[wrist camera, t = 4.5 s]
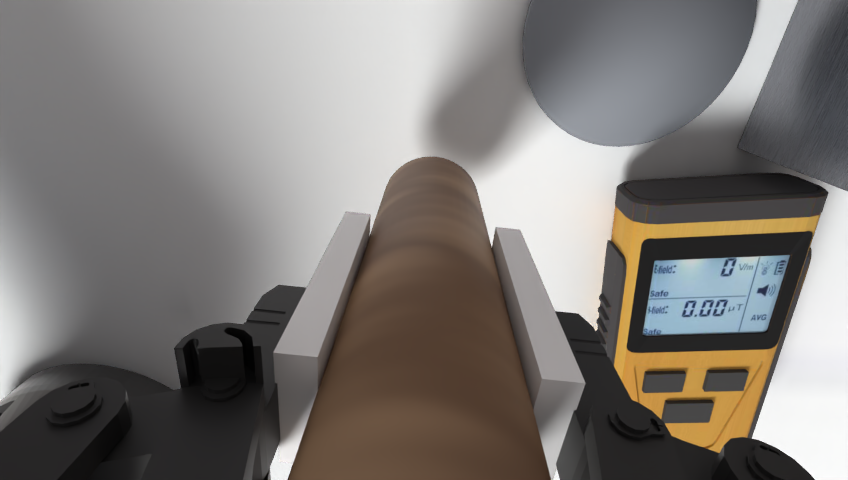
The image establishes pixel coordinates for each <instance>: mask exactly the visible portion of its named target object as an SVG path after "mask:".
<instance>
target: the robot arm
mask: <svg viewBox="0 0 848 480" xmlns="http://www.w3.org/2000/svg"><path fill="white" fill-rule="evenodd" d="M369 233H370V214H364V213H354V212H345V214H344V216H343V218H342V220H341V222H340V224H339V226H338V228H337V230H336V232H335V234H334V236H333V238H332V239H331V241H330V243H329V245H328V247H327V249H326V251H325V253H324V255H323V257H322V259H321V261H320V263H319V265H318V267H317V269H316V271H315V272H314V274H313V276H312V278H311V280H310V282H309V284H308V286H307V288H304V287H294V286H284V285H278V286H276V287H275V288H273V289H272V290H270V291H269V292H267V293H266V294H264V295H263V296H262V297H261V299H260V300H259V302H258V303H257V305H256V306H255V308H254V311H252V312H251V314H250V315H249V317H248V318H247V321H246V322H245V323H244V324H235V323H222V324H214V325H210V326H207V327H204V328H201V329H198V330H195V331H194V332H192V333H191V334H189V335H187V336H186V337H184V338H183V339H182V340H181V341H180V342H179V343H178V345H177V346H176V347H175V348H174V350H175V355H176V361H177V367H178V372H179V378H180V383H181V388H180V389H177V390H172V389H170V388H168V387H167V386H165V385H163V384H161V383H159V382H157V381H155V380H152V379H150V378H148V377H145V376H143V375H140V374H137V373H134V372H131V371H128V370H124V369H120V368H116V367H110V366H105V365H97V364H68V365H61V366H55V367H52V368H48V369H45V370H42V371H40V372H38V373H36V374H34V375H32V376H31V377H29V378H28V379H27V380H25V381H24V382H23V383H22V384H20V385H19V386H18V387H17V388H16V389H14V390H13V391H12V392H11V393H10V394H8V395H7V396H6V397H5V398H4V399H2V400H1V401H0V480H271V478H270V465H271V463H272V460H273V458H274V455H275V452H276V450H277V447H278V445H279V462H283V463H293V462H294V459H295V457H296V454H297V451H298V448H299V445H300V442H301V439H302V436H303V433H304V430H305V427H306V424H307V421H308V418H309V415H310V412H311V409H312V406H313V403H314V400H315V397H316V394H317V392H318V389H319V386H320V383H321V380H322V377H323V374H324V371H325V368H326V365H327V362H328V359H329V356H330V353H331V350H332V347H333V344H334V341H335V338H336V335H337V332H338V329H339V326H340V323H341V320H342V317H343V314H344V311H345V308H346V305H347V302H348V299H349V296H350V293H351V291H352V288H353V285H354V282H355V279H356V276H357V273H358V270H359V267H360V264H361V261H362V258H363V255H364V252H365V249H366V246H367V243H368V240H369ZM492 251H493V255H494V259H495V263H496V267H497V271H498V275H499V279H500V282H501V286H502V290H503V294H504V298H505V302H506V306H507V310H508V314H509V317H510V321H511V325H512V329H513V333H514V337H515V341H516V345H517V349H518V352H519V356H520V360H521V364H522V368H523V372H524V376H525V380H526V384H527V388H528V391H529V395H530V399H531V403H532V407H533V411H534V415H535V419H536V423H537V426H538V430H539V434H540V438H541V442H542V446H543V450H544V454H545V458H546V461H547V465H548V469H549V473H550V477H551V480H553V478H554V475H555V472H556V469H557V470H558V474H559V477H560V480H815V479H814V478H813V477H812V476H811V475H810V474H809V473H808V472H807V471H806V470H805V469H804V468H803V467H802V466H801V465H800V464H798V463H797V462H796V461H795V460H794V459H793V458H791V457H790V456H788V455H786V454H785V453H783V452H782V451H780V450H779V449H777V448H775V447H773V446H771V445H768V444H766V443H764V442H762V441H759V440H755V439H750V438H746V437H738V438H731V439H730V440H729V441H728V442H727V443H725V444H724V446H723V448H722V449H721V451H720V453H718V452H715V451H712V450H709V449H706V448H703V447H700V446H698V445H695V444H692V443H689V442H686V441H683V440H681V439H678V438H676V437H673V436H671V434H670V432H669V430H668V429H667V427H666V425H665V423H664V422H663V421H662V420H661V419H660V418H659V417H658V416H657V415H656V414H655V413H654V412H653V411H652V410H650V409H648V408H647V407H645V406H643V405H642V404H640V403H638V402H636V401H633V400H632V399H631V397H630V395H629V394H628V392H627V390H626V388H625V386H624V384H623V382H622V380H621V379H620V377H619V375H618V373H617V371H616V369H615V367H614V365H613V364H612V362H611V360H610V358H609V357H607V352H606V350H605V349H604V347H603V345H602V344H601V341H600V339H599V337H598V335H597V334H596V332H595V330H594V328H593V327H592V326H591V325H590V324H589V323H588V322H587V321H586V320H585V319H583V318H582V317H581V316H580V315H579V314H576V313H566V312H556V311H555V310H554V308H553V306H552V303H551V301H550V299H549V296H548V294H547V292H546V289H545V287H544V285H543V282H542V280H541V278H540V275H539V273H538V270H537V268H536V266H535V263H534V261H533V259H532V256H531V254H530V252H529V249H528V247H527V245H526V242H525V240H524V238H523V235H522V233H521V231H520V230H517V229H508V228H498V227H496V229H495V234H494V240H493V245H492Z"/></svg>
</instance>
